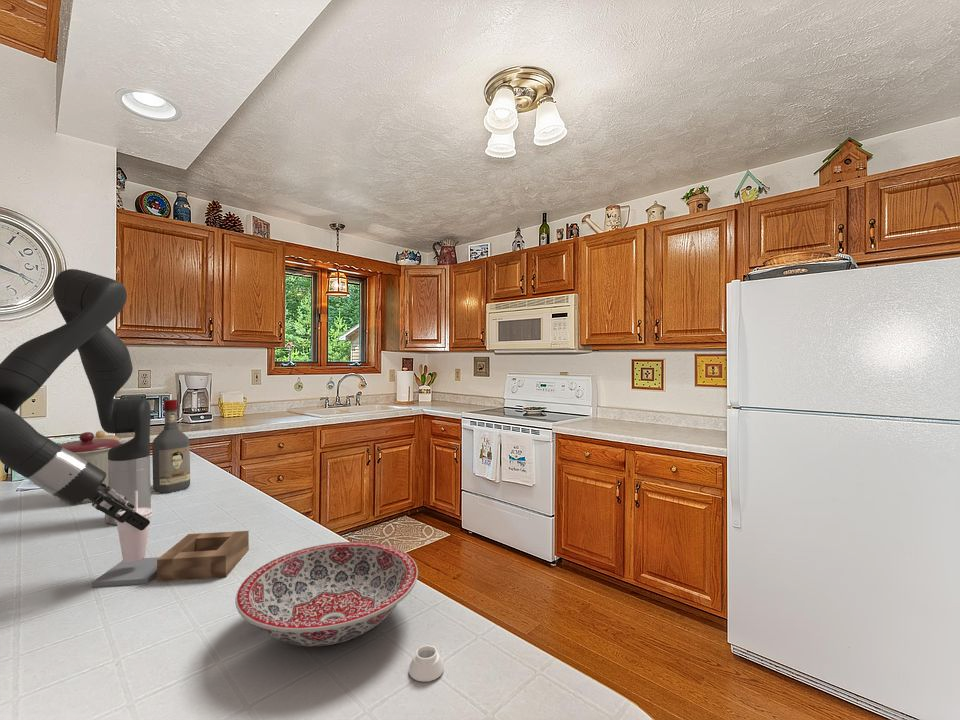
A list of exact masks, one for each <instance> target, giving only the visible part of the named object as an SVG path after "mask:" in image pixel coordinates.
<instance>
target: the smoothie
mask: <svg viewBox="0 0 960 720" xmlns="http://www.w3.org/2000/svg"><path fill="white" fill-rule="evenodd" d="M134 511H135V512H137V513H138V514H140V515H142V516H143V517H145V518H147V519H148V520H149V521H150V522H151V518H152V517H151V516H153V514H154V513H153V509H152V507H151V508H138V491H134ZM125 512H126V511H122V512H119V513H118V514H119V515H121V516H122V515H123V514H124V513H125ZM114 521H115V522H117V525H116V526H117V532H118V538H119V544H120V550H121V555H122V560H123V562H135V561H138V560H141V559H143V558H146V552H147V546H148V541H149V540H148V538H149V531H150V524H151V523H150V524H149V525H148V526H147V527H146V528H145V529H144V530H139V529H137V528H135V527H134V526H132V525H130V524H129V523H127V522H124V523H120V522H119V521H118V520H116V519H115V520H114Z"/></svg>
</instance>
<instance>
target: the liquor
mask: <svg viewBox="0 0 960 720" xmlns="http://www.w3.org/2000/svg"><path fill="white" fill-rule="evenodd" d="M177 409H178V400H177V399H167V400H166V399H165V400H163V410H164V426H163V429H162V430H161V432H159V434H157V436H156V437H155V438H154V439H153V441H152V443H151V445H152V446H151V447H152V448H151V450H152V458H151V459H152V490H153V491H154V492H156V493H158V492H159V493H158V494H160V493H165V494H172V492H173V493H176V491H177V492H181V491H185V490H187V489H189V488H188V487H190V486H191V453H190V452H191V450H190V449H191V448H190V446H191V443H190V442H191V441H190V439H189V437H188V436H187V435H186V434H185V433H184V432H183V431H182V430H181V429H180V428H179V426H178V417H177V416H178V412H177ZM180 490H181V491H180Z"/></svg>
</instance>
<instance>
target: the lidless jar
mask: <svg viewBox="0 0 960 720" xmlns="http://www.w3.org/2000/svg"><path fill="white" fill-rule="evenodd" d="M444 663H445V662H444V661H443V659H442V657H441V656H440V654H439V652H438V650H437V648H436V647H435V646H433V645H429V644H428V645H422V646H420V647H418V648H417V649H416V651H415V653H414V656H413V657H412V659H411V661H410V663H409V667H408V673H409V675H410V677H411V678H412V679H414V680H415V681H418V682H432V681H434V680H437V679H438V678H439V677H441V676H442V675H443V673H444V671H445V667H444V666H445V664H444Z"/></svg>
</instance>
